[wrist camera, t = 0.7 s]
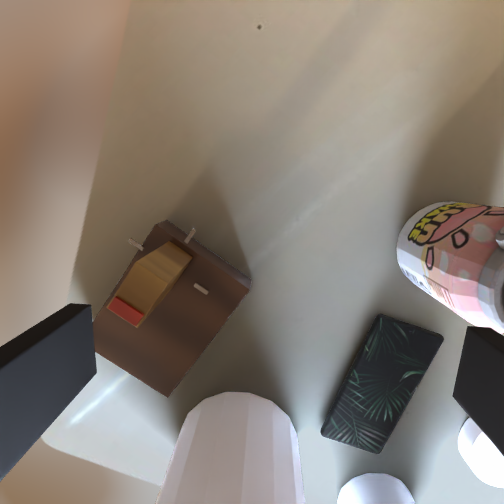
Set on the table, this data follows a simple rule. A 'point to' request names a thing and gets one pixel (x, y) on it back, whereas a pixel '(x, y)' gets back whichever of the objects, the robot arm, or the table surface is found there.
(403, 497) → the cup
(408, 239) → the beverage can
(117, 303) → the tan wooden block
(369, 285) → the table surface
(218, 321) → the plate
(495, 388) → the robot arm
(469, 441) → the character figurine
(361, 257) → the table surface
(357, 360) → the smartphone
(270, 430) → the container
